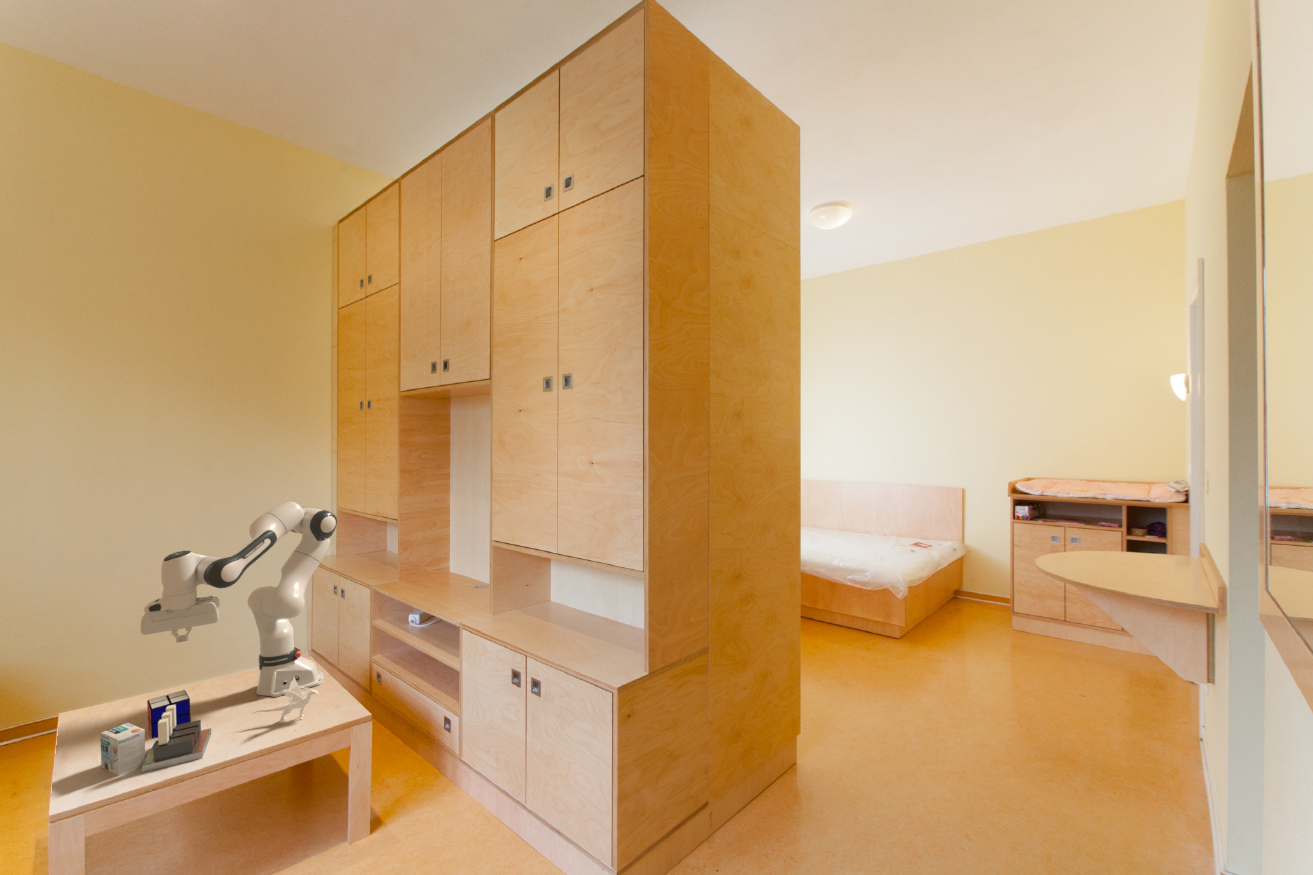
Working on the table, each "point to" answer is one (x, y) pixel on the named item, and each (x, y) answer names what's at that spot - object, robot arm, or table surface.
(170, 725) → the handle
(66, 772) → the table surface
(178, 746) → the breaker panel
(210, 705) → the table surface
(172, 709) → the handle
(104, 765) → the light bulb box
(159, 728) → the handle
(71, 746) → the table surface
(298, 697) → the dragon
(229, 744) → the table surface
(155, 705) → the puzzle cube
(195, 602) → the robot arm
